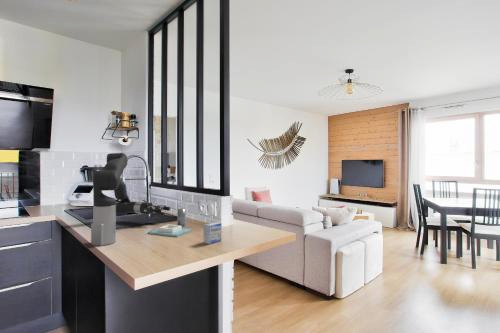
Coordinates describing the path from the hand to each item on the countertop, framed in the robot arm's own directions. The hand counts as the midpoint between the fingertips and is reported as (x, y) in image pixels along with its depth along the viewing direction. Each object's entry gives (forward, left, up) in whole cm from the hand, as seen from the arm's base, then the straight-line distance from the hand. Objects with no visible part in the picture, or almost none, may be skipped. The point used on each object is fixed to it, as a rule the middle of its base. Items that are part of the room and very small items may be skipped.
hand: (165, 209), depth 169 cm
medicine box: (-23, -43, -9) cm, 50 cm away
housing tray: (-15, -14, -9) cm, 23 cm away
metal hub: (0, -11, -9) cm, 14 cm away
